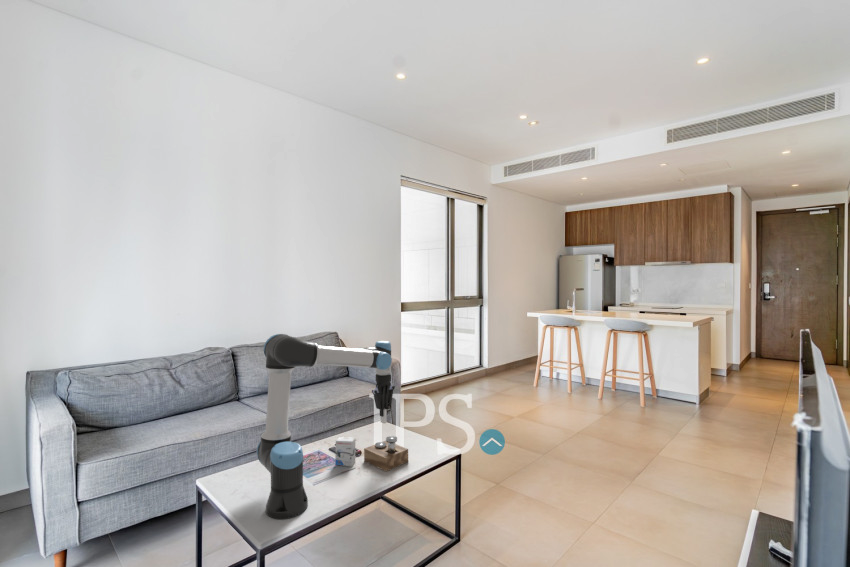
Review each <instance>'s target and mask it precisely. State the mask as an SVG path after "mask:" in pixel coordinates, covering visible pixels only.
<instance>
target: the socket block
mask: <svg viewBox="0 0 850 567" xmlns="http://www.w3.org/2000/svg"><path fill="white" fill-rule="evenodd" d="M382 442H385V443H386V447H385V448H382V449H378V448H376V447H375V444H373V445H370V446H368V447H365V448H364V449H363V454H364V455H363V461H364V462H365V463H367V464H370V465H371V466H374V467H375V468H378V469H380V470H383V471H385V472H389V471H390V470H393V469H394V468H397V467H399V465H400V466H402V465H405V464H406V463H409V448H406V447H404V446H401V445H399V444H396V443H395V453H393V454H390V453H388V442H386V440H384V441H382ZM401 464H402V465H401Z"/></svg>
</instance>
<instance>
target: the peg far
mask: <svg viewBox="0 0 850 567" xmlns="http://www.w3.org/2000/svg"><path fill="white" fill-rule="evenodd" d="M374 445H375V447H376V448H378V449H382V448H385V447H386V443H385V442H383V441H379V442H376V443H375V444H374Z"/></svg>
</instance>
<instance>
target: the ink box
mask: <svg viewBox="0 0 850 567" xmlns="http://www.w3.org/2000/svg"><path fill="white" fill-rule="evenodd" d="M334 458H335V461H334V462H335V466H336V465H346V466H345V467H354V465H355V463H356V438H355V437H352V436H351V437H350V436H344V437H343V436H339V437H337V438H336V440H335V457H334Z"/></svg>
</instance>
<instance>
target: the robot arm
mask: <svg viewBox="0 0 850 567" xmlns="http://www.w3.org/2000/svg"><path fill="white" fill-rule="evenodd" d="M263 354H264V356H265V358H266V359H265V369H266V370H267V371H268V372H269V374H268V387H267V403H266V404H267V405H266V418H265V419H266V420H265V429H264V430H265V431H264V432H263V433H262V434H261V436H260V440H259V442H258V444H257V447H256V455H257V456H256V457H257V459H258V461H259V462H260V464H261V465H262V466H263V467H265V469H266V470H267V471H268V472H269V473H270V492H269V495H268V498H267V502H266V505H265V513H266V515H267V517H269V518H271V519H275V520H285V519H287V520H288V519H291V518H295V517H297V516H299V515H300V514H301V515H302V513H304V512H305V511H306V509H308V506H309V505H308V504H309V503H308V502H309V500H308V496H307V493H306V489H305V487H304V452H303V448H302V446H301V445H300V444H299V443H298V442H293V441H292V433H291V431H289V429H288V428H289V416H290V415H289V414H290V398H291V397H290V396H291V386H292V385H291V382H292V372H293V371H294V370H295V369H296V367H308V368H313V367H315V365H317V366H319V365H321V366H335V367H336V366H338V367H353V368H369V369H375V384H376V385H375V388H374V389H372V390H371V393H372V394H373V399H374V404H375V408H376V409H378V410H379V417H380V423H382V424H387V422H388V421H387V420H388V419H387V418H388V417H387V415H388V410H389V409H390V407H391V405H392V400H393V395H394V391H395V387H396V386H395V385H392V383H391V382H392V362H393V358H392V342H390V341H388V340H380V341H379V340H378V341H376V342H375V345H374V346H369V347H359V348H349V347H340V346H339V347H338V346H329V345H327V346H326V345H320V344H317V343H316V342H314V341H307V340H303V339H301V338H298V337H295V336H291V335H288V334H286V333H277V334H273V335H271V336H270V337H269V338H267V339H266V340H265V342H264V344H263Z"/></svg>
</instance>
